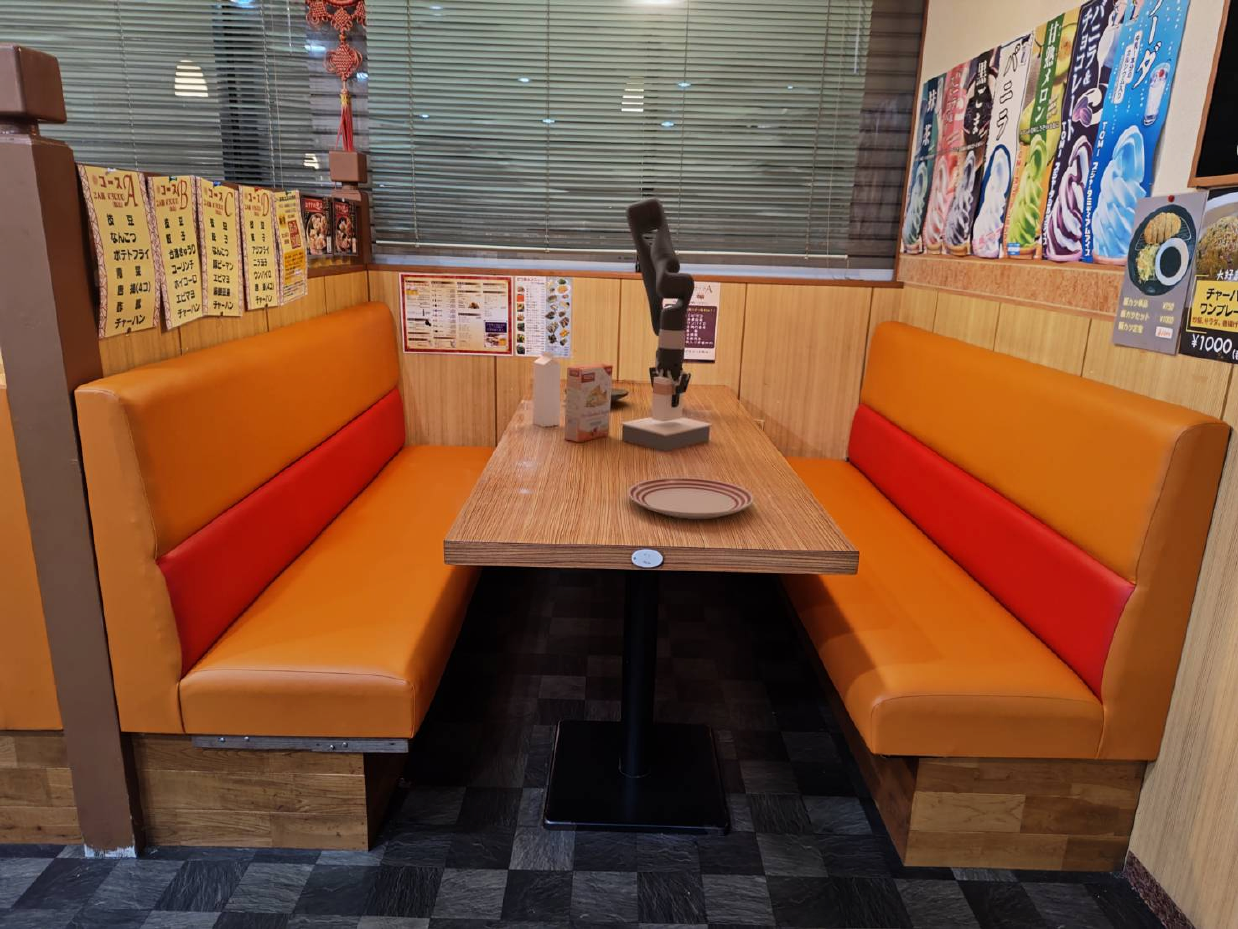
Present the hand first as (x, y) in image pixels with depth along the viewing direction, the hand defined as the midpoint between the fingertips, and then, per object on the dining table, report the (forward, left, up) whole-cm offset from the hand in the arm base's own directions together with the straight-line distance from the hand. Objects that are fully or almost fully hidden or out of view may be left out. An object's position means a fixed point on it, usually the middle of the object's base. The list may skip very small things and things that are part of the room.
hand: (667, 405), depth 234 cm
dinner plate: (+42, +42, -11) cm, 60 cm away
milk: (+14, -36, -11) cm, 40 cm away
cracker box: (+16, -16, -11) cm, 25 cm away
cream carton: (0, 0, -4) cm, 4 cm away
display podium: (0, 0, -10) cm, 10 cm away
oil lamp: (-24, -52, -11) cm, 58 cm away
